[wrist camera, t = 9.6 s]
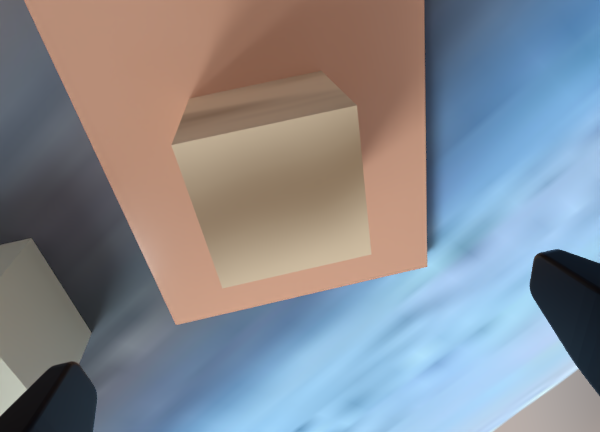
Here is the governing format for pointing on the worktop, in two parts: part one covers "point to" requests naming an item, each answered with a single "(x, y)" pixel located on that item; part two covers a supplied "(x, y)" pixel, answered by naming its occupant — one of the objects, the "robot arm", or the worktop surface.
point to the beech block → (275, 177)
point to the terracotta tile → (231, 75)
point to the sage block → (33, 321)
